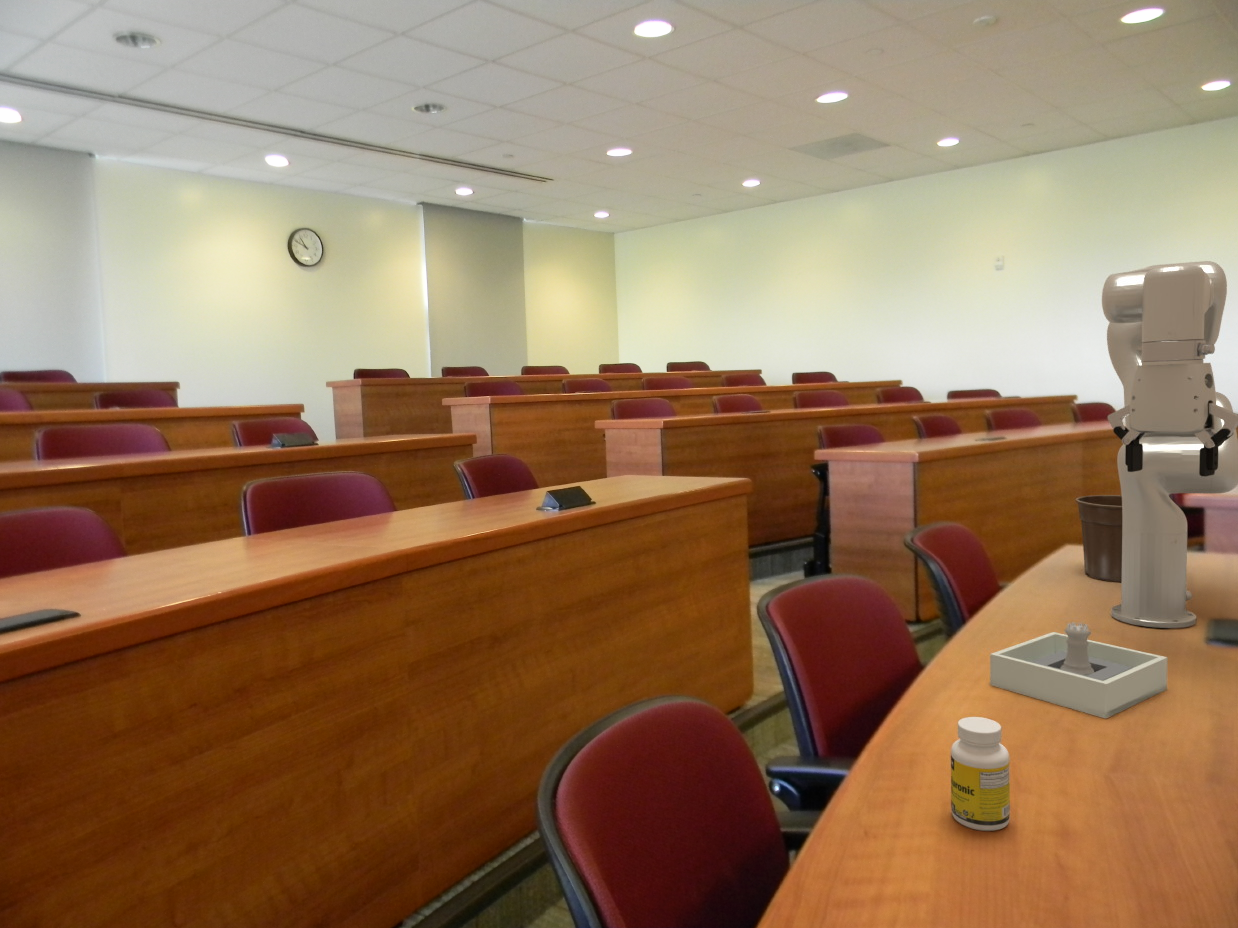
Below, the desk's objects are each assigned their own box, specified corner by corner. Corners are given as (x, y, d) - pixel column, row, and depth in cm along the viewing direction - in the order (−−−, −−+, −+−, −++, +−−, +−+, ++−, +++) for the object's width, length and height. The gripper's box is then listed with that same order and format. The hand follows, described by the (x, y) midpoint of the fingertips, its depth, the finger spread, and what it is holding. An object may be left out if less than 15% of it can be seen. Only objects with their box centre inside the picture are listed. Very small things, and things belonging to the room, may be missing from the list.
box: (1052, 660, 132) (1053, 631, 132) (1166, 689, 119) (1167, 657, 119) (990, 684, 123) (990, 653, 123) (1105, 718, 110) (1106, 683, 110)
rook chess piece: (1100, 687, 119) (1100, 629, 118) (1064, 686, 120) (1064, 629, 119) (1089, 676, 123) (1090, 620, 122) (1055, 675, 124) (1055, 620, 123)
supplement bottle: (941, 807, 90) (940, 715, 89) (992, 803, 90) (992, 711, 89) (966, 834, 84) (966, 736, 83) (1020, 830, 85) (1020, 732, 84)
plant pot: (1171, 573, 183) (1173, 497, 181) (1157, 589, 171) (1158, 507, 169) (1085, 565, 193) (1086, 493, 192) (1066, 579, 181) (1066, 502, 180)
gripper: (1253, 351, 120) (1250, 474, 121) (1122, 356, 134) (1121, 467, 136) (1229, 351, 116) (1226, 480, 117) (1097, 357, 130) (1095, 471, 132)
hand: (1169, 473), depth 126 cm, fingers open, 9 cm apart
